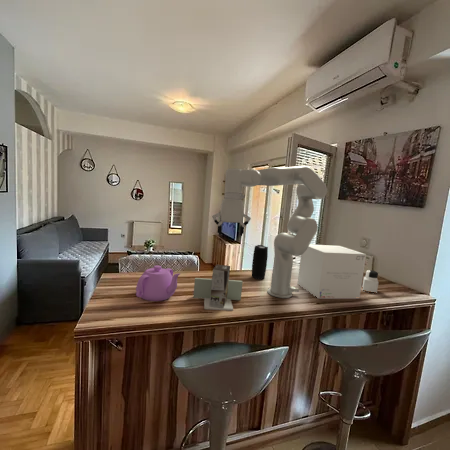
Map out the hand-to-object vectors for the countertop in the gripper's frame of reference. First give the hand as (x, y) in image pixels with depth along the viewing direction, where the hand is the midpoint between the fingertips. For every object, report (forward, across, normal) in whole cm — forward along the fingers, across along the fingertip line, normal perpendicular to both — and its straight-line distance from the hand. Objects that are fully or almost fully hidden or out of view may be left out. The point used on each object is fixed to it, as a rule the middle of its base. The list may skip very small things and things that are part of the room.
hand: (230, 235), depth 119 cm
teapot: (+30, +30, +1) cm, 42 cm away
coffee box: (+29, +4, +7) cm, 30 cm away
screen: (+30, +4, 0) cm, 30 cm away
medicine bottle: (+34, -87, -21) cm, 96 cm away
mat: (+30, +4, +7) cm, 31 cm away
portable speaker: (+32, -24, -35) cm, 53 cm away
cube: (+33, -59, -18) cm, 70 cm away
